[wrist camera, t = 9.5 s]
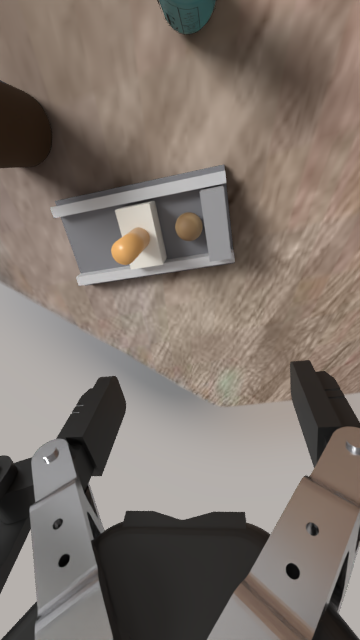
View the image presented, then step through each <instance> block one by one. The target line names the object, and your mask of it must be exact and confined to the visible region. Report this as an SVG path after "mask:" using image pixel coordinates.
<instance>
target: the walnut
mask: <svg viewBox="0 0 360 640" xmlns="http://www.w3.org/2000/svg"><path fill="white" fill-rule="evenodd" d="M202 228H203V225H202V221H201V219H200V217H199V216H198V215H196V214H195V213H192V212H186V213H184V214H182V215H180V216H179V217H178V219H177V221H176V224H175V230H176V233H177V235H178V236H179V237H180V238H181V239H183V240H185V241H193V240H195V239H197V238H198V237H199V236H200V234H201V232H202Z"/></svg>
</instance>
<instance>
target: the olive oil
mask: <svg viewBox="0 0 360 640" xmlns="http://www.w3.org/2000/svg"><path fill="white" fill-rule="evenodd" d="M51 143H52V132H51V127H50V123H49V120H48V118H47V115H46V113H45V112H44V110H43V108H42V107H41V106H40V104H39V103H38V102H37V101H36V100H35V99H34V98H33V97H31V96H30V95H29V94H27V93H25V92H24V91H22V90H19V89H17V88H15V87H13V86H11V85H9V84H6V83H5V82H3V81H1V80H0V168H12V167H32V166H36V165H38V164H40V163H41V162H43V161H44V160H45V158H46V157H47V155H48V154H49V151H50V148H51Z"/></svg>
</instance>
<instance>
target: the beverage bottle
mask: <svg viewBox="0 0 360 640" xmlns="http://www.w3.org/2000/svg"><path fill="white" fill-rule="evenodd" d="M157 1H158V0H157ZM159 1H160V4H161V7H162V10H163V13H164V15H165V19H166V20H167V21H168V22H167V23H169V24H170V25H171V27H172V28H173V29H174V31H175V30H176V31H178V32H180V34H181V33H183V34H185V35H189V34H191V33H194V32H195V33H196V32H198V30H200V29H201V28H202V27H203V26H204V25H205V24H206V23H207V22H208V20H209V18H210V16H211V14H212V12H214V10H215V9H214V6H215V1H217V0H159ZM159 1H158V2H159ZM160 4H159V6H160ZM215 7H216V6H215ZM160 9H161V8H160ZM166 20H165V21H166Z"/></svg>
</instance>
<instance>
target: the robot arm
mask: <svg viewBox="0 0 360 640" xmlns="http://www.w3.org/2000/svg"><path fill="white" fill-rule="evenodd" d="M290 378H291V396H292V401H293V405H294V408H295V411H296V414H297V417H298V420H299V423H300V426H301V429H302V432H303V435H304V438H305V441H306V444H307V447H308V450H309V453H310V456H311V459H312V462H313V465H314V470H313V472H312V474H311V475H310V476H309V477H308V476H304V477H303V478H302V480H301V481H300V483H299V485H298V486H297V488H296V490H295V492H294V494H293V495H292V497H291V499H290V501H289V503H288V504H287V506H286V508H285V510H284V512H283V513H282V515H281V517H280V519H279V521H278V522H277V524H276V526H275V528H274V530H273V532H272V533H271V535H270V534H269V533H268V532H266V531H264V530H263V529H261V528H259V527H257V526H255V525H252V524H249V523H246V518H245V512H211V513H208V514H204V515H201V516H197V517H193V518H190V519H186V520H179V519H176V518H173V517H170V516H167V515H164V514H161V513H157V512H154V511H126V515H125V518H124V522H121V523H118V524H116V525H114V526H112V527H110V528H108V529H107V530H104V528H103V525H102V522H101V519H100V516H99V513H98V510H97V506H96V503H95V500H94V497H93V494H92V491H91V487H90V485H89V480H90V478H91V476H102V473H103V471H104V468H105V465H106V463H107V460H108V457H109V455H110V452H111V449H112V447H113V444H114V441H115V439H116V436H117V433H118V430H119V428H120V425H121V423H122V420H123V417H124V415H125V411H126V401H125V398H124V395H123V392H122V390H121V387H120V384H119V381H118V379H117V377H116V376H109V377H100V378H99V379H98V380H97V382H96V384H95V386H94V387H93V388H92V389H89V390H88V391H87V392H86V393H85V394H84V395H82V396H81V398H80V400H79V402H78V403H77V406H76V407H75V408H74V410H73V412H72V414H71V415H70V417H69V418H68V420H67V422H66V423H65V425H64V427H63V428H62V430H61V432H60V433H59V435H58V437H57V438H56V439H54V440H51V441H49V442H47V443H46V444H44V445H42V446H41V447H40V448H39V449H38V450H37V451H36V452H35V454H34V455H33V457H32V458H29V459H26V460H23V461H19V462H16V463H13V461H12V460H11V458H10V457H9V456H0V593H1V591H2V589H3V587H4V585H5V583H6V580H7V578H8V576H9V574H10V572H11V569H12V567H13V565H14V563H15V561H16V559H17V557H18V555H19V553H20V550H21V548H22V546H23V544H24V542H25V540H26V538H27V535H28V533H29V531H30V529H31V533H32V534H31V535H32V547H33V559H34V569H35V583H36V595H37V602H36V603H35V604H34V605H33V606H32V607H31V608H30V609H29V610H28V611H27V612H26V613H25V615H24V616H23V617H22V618H21V619H20V620H19V621H18V622H17V623H16V624H15V626H13V627H12V629H11V630H10V631H9V632H8V633H7V634H6V635H5V636H4V637H3V638H2V639H1V640H360V639H359V638H358V637H357V636H356V635H355V633H354V632H353V631H352V630H351V629H350V627H349V626H348V625H347V623H346V622H345V621H344V620H343V619H342V617H341V616H340V615H339V611H340V608H341V605H342V602H343V599H344V596H345V593H346V590H347V587H348V583H349V580H350V577H351V573H352V569H353V565H354V562H355V558H356V555H357V552H358V549H359V547H360V423H359V421H358V419H357V417H356V415H355V414H354V412H353V410H352V408H351V407H350V405H349V403H348V401H347V399H346V398H345V396H344V394H343V392H342V391H341V390H340V387H339V385H338V384H337V382H336V380H335V379H334V378H333V377H332V376H330V375H329V374H328V373H327V372H325V371H320V372H315V370H314V368H313V366H312V364H311V362H310V361H309V360H305V361H293V362H291V363H290Z"/></svg>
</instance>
